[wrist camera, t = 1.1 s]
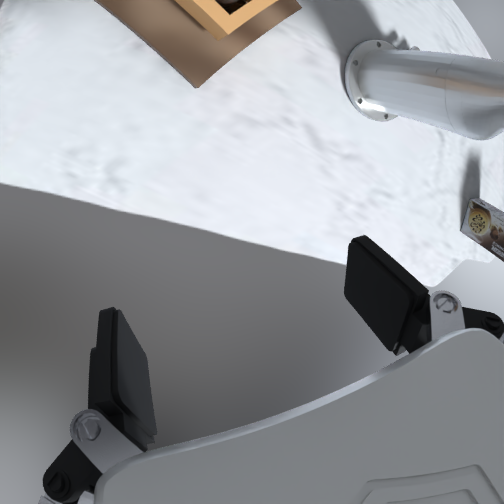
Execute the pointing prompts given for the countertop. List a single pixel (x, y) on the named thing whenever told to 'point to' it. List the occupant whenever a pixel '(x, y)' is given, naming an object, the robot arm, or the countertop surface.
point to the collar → (222, 15)
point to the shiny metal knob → (231, 5)
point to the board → (192, 33)
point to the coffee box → (485, 226)
